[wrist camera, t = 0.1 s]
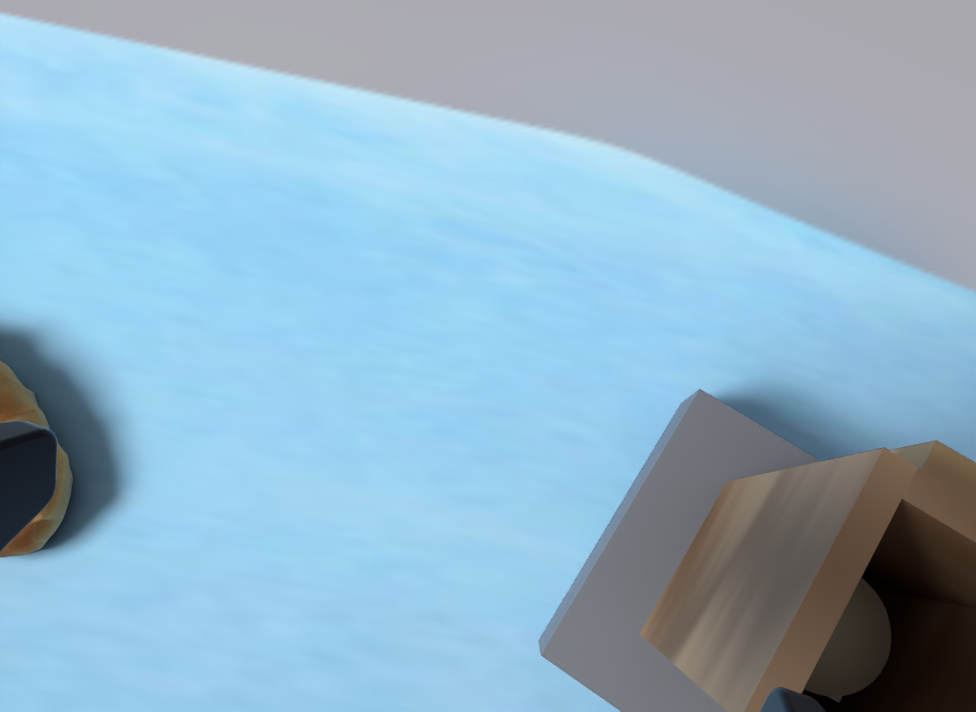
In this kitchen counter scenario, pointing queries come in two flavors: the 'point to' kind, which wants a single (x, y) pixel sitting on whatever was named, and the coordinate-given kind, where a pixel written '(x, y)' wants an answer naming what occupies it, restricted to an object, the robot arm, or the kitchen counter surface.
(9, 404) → the pastry
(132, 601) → the kitchen counter surface
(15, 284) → the kitchen counter surface
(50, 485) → the robot arm
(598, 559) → the block
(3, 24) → the kitchen counter surface
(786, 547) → the walnut sleeve
